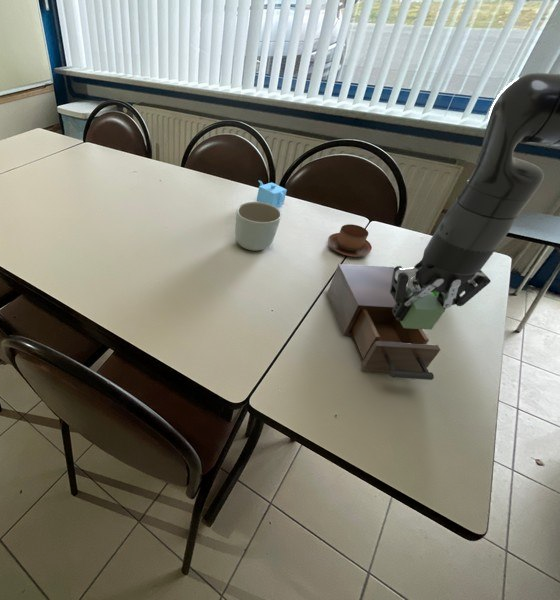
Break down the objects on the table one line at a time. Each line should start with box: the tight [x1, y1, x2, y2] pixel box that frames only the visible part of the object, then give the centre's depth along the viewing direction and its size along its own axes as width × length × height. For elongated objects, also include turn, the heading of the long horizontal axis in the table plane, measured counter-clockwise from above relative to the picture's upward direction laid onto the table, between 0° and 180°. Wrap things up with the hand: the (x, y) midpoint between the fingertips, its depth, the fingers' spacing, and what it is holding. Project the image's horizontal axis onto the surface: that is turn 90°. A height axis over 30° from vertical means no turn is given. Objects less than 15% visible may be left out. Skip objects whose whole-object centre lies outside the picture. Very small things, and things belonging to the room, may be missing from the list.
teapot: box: [255, 180, 288, 208], centre depth 128 cm, size 12×6×8 cm, turn 33°
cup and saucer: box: [327, 223, 373, 258], centre depth 107 cm, size 12×12×6 cm
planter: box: [234, 201, 282, 252], centre depth 107 cm, size 12×12×11 cm
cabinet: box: [326, 263, 396, 337], centre depth 84 cm, size 15×13×9 cm
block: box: [400, 292, 446, 330], centre depth 63 cm, size 5×5×5 cm
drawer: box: [351, 309, 441, 381], centre depth 75 cm, size 18×12×7 cm, turn 175°
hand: (412, 318), depth 64 cm, fingers closed on block, 4 cm apart
